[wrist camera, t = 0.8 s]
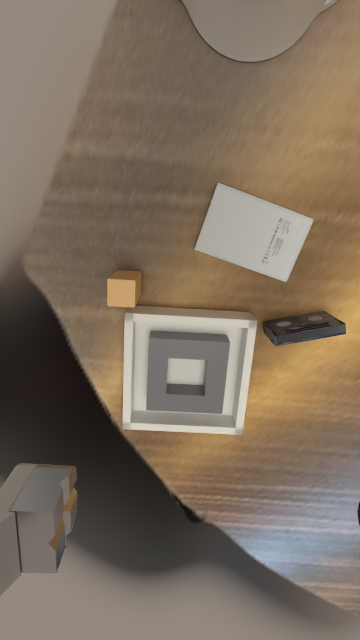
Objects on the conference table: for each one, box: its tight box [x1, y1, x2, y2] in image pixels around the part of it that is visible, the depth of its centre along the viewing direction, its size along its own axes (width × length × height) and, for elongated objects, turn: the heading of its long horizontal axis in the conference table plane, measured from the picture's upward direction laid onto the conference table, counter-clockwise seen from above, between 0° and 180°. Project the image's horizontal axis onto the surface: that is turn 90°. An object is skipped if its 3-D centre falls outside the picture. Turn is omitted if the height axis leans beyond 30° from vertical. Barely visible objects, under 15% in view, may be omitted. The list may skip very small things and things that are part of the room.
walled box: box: [123, 305, 257, 435], centre depth 44 cm, size 16×16×4 cm
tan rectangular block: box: [107, 270, 142, 308], centre depth 40 cm, size 3×3×7 cm
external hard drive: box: [194, 183, 313, 282], centre depth 41 cm, size 2×8×12 cm
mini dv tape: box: [263, 311, 346, 346], centre depth 42 cm, size 8×2×6 cm, turn 100°
